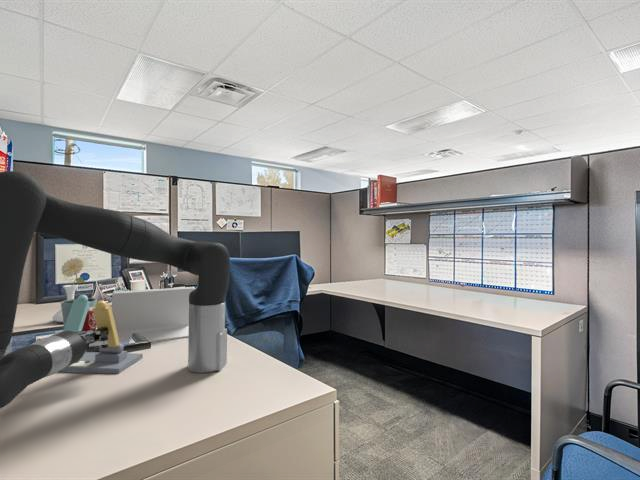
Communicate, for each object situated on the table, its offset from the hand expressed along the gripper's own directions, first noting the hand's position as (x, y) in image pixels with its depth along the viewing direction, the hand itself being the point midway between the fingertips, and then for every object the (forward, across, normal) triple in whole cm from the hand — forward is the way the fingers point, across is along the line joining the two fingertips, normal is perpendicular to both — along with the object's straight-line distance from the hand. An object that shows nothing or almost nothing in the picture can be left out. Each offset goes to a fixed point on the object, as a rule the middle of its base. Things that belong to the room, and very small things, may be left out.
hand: (104, 331), depth 90 cm
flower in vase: (+46, +42, +10) cm, 63 cm away
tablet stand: (+30, +2, +10) cm, 32 cm away
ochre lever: (+3, 0, +6) cm, 7 cm away
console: (+3, +6, +10) cm, 12 cm away
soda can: (+17, +16, +10) cm, 25 cm away
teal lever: (+2, +12, +6) cm, 14 cm away
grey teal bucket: (+28, +26, +10) cm, 39 cm away
